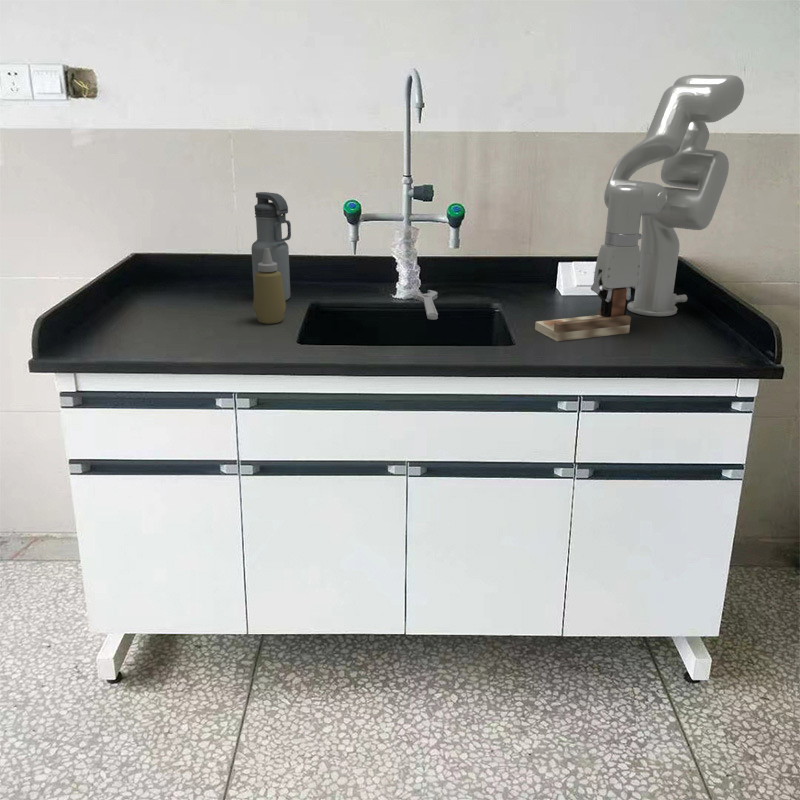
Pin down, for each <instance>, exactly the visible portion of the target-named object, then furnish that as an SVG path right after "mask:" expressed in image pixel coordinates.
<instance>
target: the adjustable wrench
mask: <svg viewBox="0 0 800 800" xmlns="http://www.w3.org/2000/svg"><path fill="white" fill-rule="evenodd" d="M436 299H438V291H436V290H431V289H428V290H427V293H423V292H420V291H419V294H417V295H415V294H414V295H413V300H417V301H420V302H422V303H423V306H424V309H425V313H426V317H427V319H428V320H437V319H439V317H438V315H439V313H438V311H437V309H436V306H435V304H434V300H436Z"/></svg>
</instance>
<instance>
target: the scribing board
mask: <svg viewBox="0 0 800 800" xmlns="http://www.w3.org/2000/svg"><path fill="white" fill-rule="evenodd" d="M631 321H632V317H631V316H630V315H627V314H626V315H624V316H615V317H606V318H602V316H599V315H598V314H597V315H596V314H595V315H588V316H587V315H585V316H577V317H568V318H559V319H558V318H556V319H550V320H549V319H546V320H538V321H535V326H534V330H535V331H537V332H539V333H540V334H542V335H544V336H546V337H547V338H550V339H552V340H553V341H555V342H565V341H572V340H573V341H574V340H581V339H589V338H591V339H592V338H599V337H606V336H615V335H623V334H624V335H626V334H629V333H630V328H631Z"/></svg>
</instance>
